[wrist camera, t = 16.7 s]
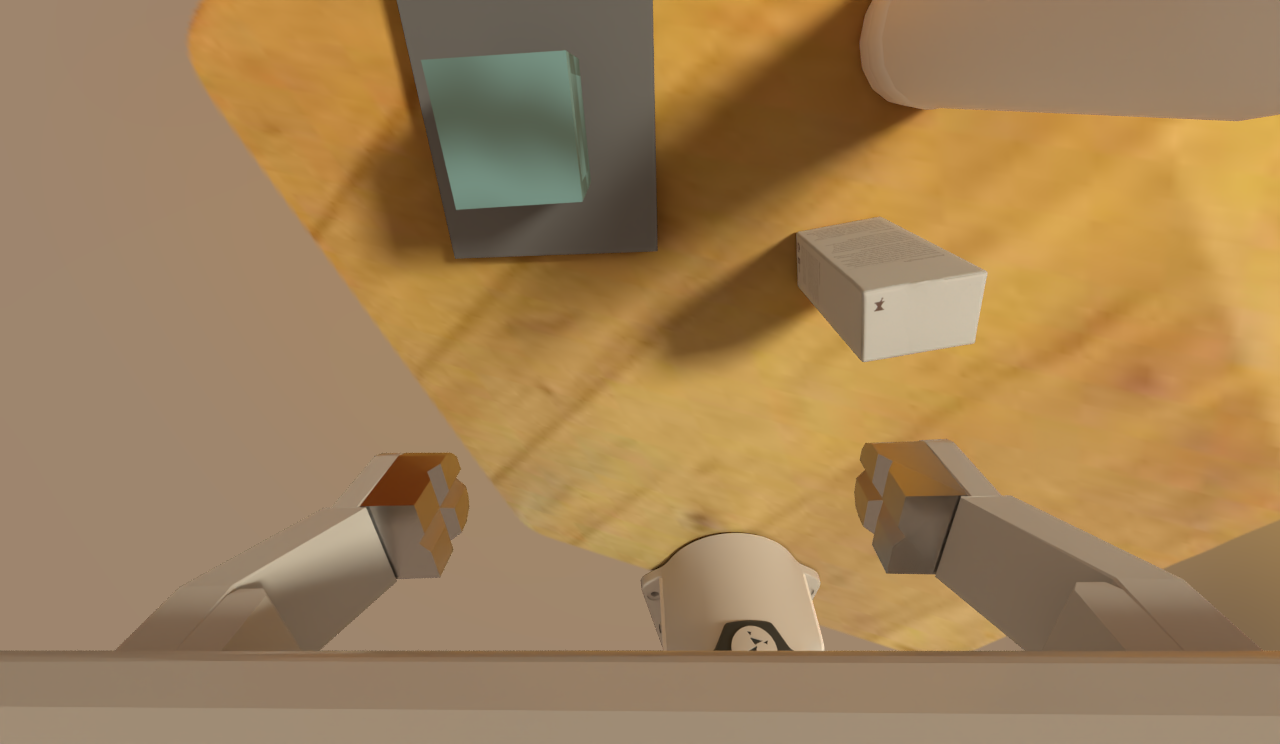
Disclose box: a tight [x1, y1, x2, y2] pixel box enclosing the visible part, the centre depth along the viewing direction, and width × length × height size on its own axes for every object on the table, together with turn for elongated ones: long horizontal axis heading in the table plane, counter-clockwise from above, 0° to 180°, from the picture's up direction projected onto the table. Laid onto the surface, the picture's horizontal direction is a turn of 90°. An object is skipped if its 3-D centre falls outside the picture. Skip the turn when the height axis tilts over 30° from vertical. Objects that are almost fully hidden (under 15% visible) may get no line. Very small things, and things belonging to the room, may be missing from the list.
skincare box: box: [796, 217, 987, 362], centre depth 30 cm, size 6×4×12 cm
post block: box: [397, 0, 658, 259], centre depth 27 cm, size 16×14×9 cm
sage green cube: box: [421, 50, 591, 210], centre depth 25 cm, size 6×6×6 cm
